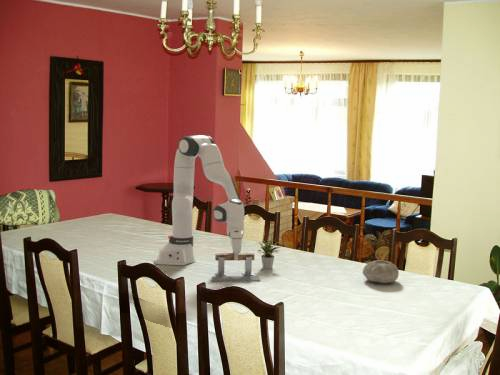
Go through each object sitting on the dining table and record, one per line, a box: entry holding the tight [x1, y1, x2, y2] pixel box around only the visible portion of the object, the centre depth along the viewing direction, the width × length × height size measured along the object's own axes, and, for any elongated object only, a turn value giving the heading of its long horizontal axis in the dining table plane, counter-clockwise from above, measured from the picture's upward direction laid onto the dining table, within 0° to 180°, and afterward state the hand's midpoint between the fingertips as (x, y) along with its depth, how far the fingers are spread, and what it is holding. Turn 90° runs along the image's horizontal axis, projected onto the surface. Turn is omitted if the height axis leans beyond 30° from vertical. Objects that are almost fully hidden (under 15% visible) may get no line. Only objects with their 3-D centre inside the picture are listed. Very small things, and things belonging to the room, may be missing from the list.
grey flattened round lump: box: [362, 259, 400, 284], centre depth 303 cm, size 18×18×10 cm
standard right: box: [242, 257, 255, 276], centre depth 310 cm, size 5×6×10 cm
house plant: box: [257, 237, 282, 270], centre depth 322 cm, size 14×14×16 cm
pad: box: [211, 275, 261, 283], centre depth 302 cm, size 24×7×1 cm, turn 96°
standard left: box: [215, 257, 227, 276], centre depth 308 cm, size 5×6×10 cm
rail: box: [214, 252, 255, 262], centre depth 309 cm, size 20×3×3 cm, turn 96°
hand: (235, 257), depth 309 cm, fingers open, 8 cm apart
